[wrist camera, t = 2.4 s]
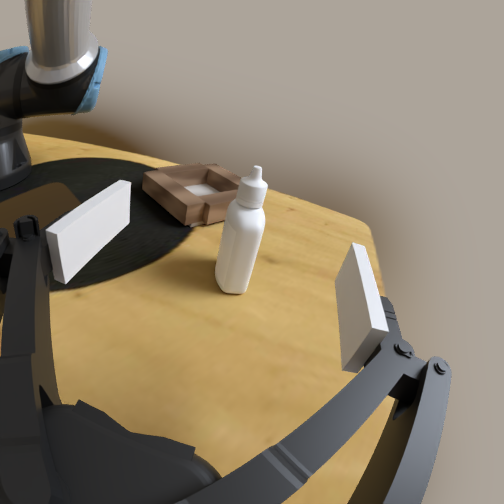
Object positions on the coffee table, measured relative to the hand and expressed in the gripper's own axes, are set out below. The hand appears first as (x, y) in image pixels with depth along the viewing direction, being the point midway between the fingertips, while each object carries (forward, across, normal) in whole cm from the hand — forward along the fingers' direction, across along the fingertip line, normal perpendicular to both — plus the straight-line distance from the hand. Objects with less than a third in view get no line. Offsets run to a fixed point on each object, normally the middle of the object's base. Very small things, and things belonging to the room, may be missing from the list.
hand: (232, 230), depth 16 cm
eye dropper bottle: (+10, 0, -11) cm, 15 cm away
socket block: (+26, -9, -11) cm, 29 cm away
